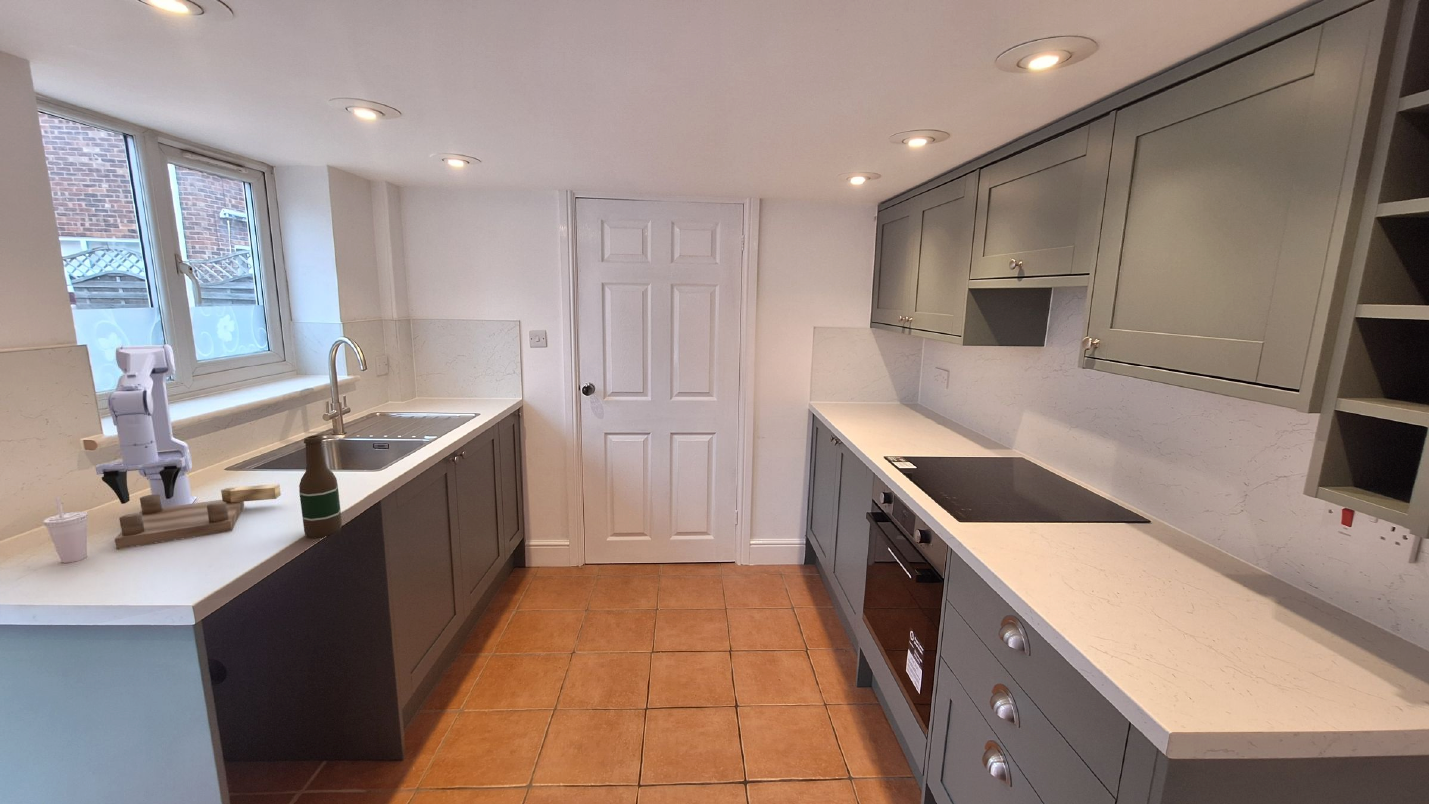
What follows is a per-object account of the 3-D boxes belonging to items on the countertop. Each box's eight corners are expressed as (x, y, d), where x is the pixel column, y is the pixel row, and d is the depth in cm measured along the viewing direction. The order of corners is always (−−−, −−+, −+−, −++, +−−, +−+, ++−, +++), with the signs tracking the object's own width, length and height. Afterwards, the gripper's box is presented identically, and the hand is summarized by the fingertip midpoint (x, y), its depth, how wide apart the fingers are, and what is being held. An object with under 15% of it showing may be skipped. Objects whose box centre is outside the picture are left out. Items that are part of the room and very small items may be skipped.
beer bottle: (301, 531, 137) (289, 436, 133) (338, 523, 143) (327, 431, 138) (308, 541, 132) (296, 442, 128) (347, 531, 137) (336, 436, 133)
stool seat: (143, 519, 143) (139, 495, 142) (244, 505, 154) (241, 482, 152) (116, 549, 126) (111, 522, 125) (231, 530, 137) (228, 505, 136)
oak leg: (220, 503, 148) (218, 491, 147) (226, 499, 151) (224, 487, 150) (275, 498, 151) (274, 487, 151) (280, 495, 154) (279, 483, 154)
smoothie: (47, 561, 120) (33, 499, 118) (90, 550, 126) (78, 490, 123) (57, 568, 117) (44, 504, 115) (101, 556, 123) (89, 495, 120)
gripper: (83, 450, 120) (95, 510, 123) (173, 443, 127) (182, 501, 129) (100, 442, 126) (111, 500, 129) (185, 436, 133) (193, 491, 135)
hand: (148, 499), depth 129 cm, fingers open, 7 cm apart
